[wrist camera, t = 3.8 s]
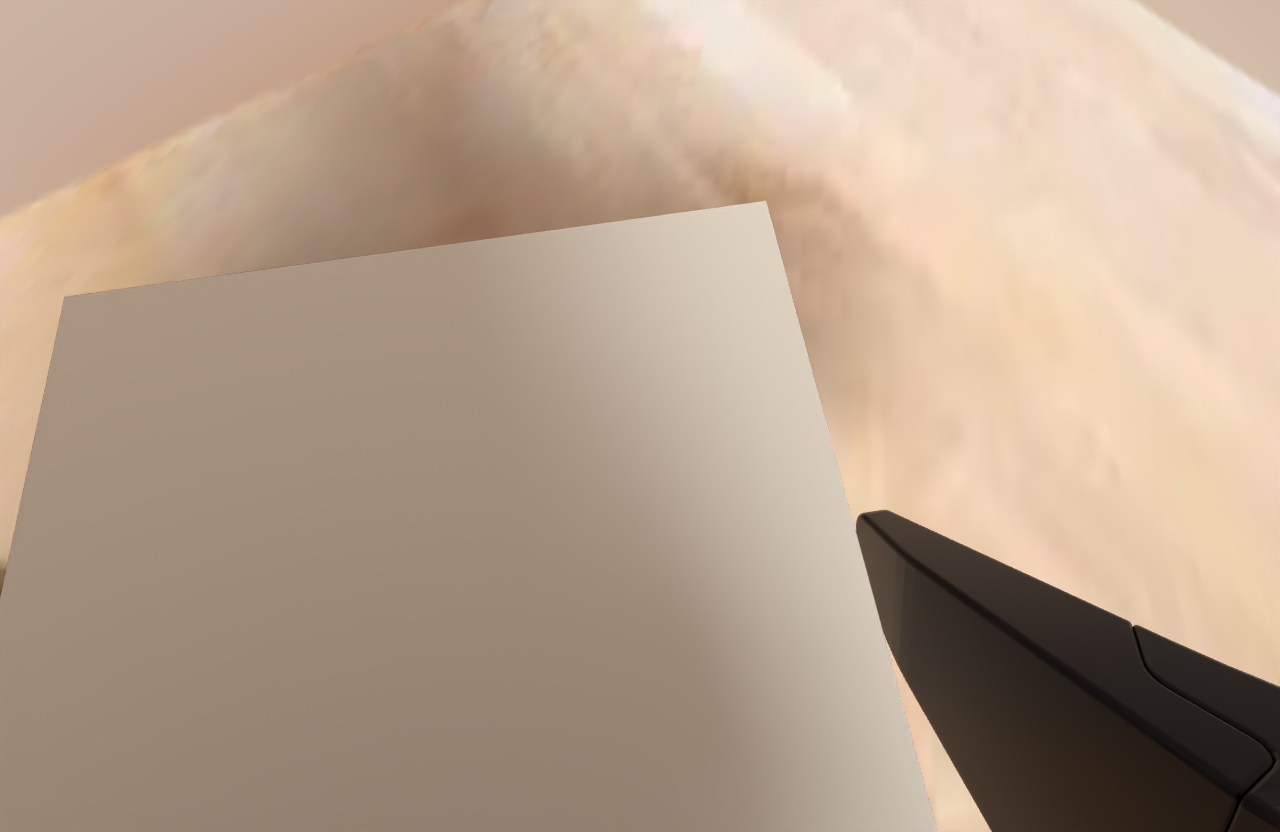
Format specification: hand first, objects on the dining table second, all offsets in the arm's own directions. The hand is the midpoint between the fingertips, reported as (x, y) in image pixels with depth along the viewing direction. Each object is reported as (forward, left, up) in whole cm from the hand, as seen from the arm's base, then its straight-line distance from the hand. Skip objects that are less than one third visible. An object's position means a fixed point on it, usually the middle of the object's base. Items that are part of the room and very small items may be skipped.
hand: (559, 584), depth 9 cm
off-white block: (0, +1, -7) cm, 7 cm away
